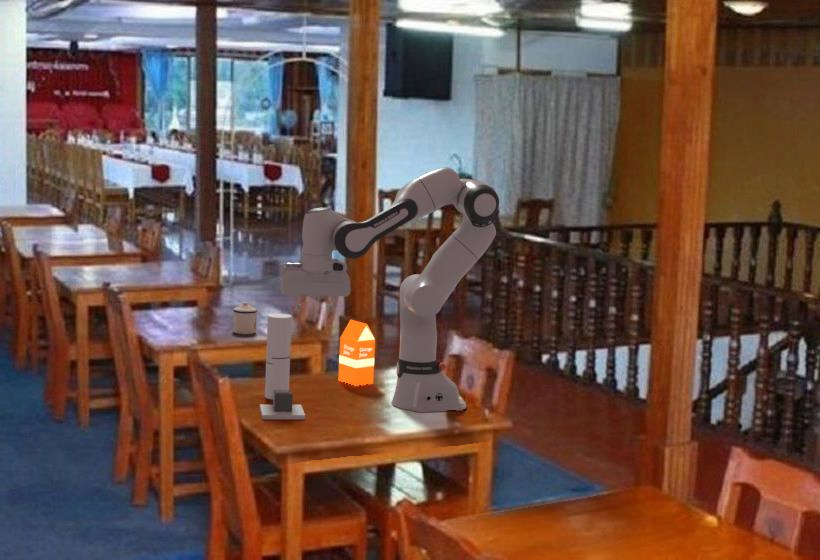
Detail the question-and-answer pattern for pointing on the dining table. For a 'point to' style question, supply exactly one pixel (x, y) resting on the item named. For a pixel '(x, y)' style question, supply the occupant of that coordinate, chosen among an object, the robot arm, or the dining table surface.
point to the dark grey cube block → (282, 401)
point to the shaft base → (269, 413)
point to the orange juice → (356, 354)
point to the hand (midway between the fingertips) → (314, 310)
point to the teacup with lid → (245, 319)
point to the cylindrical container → (278, 353)
